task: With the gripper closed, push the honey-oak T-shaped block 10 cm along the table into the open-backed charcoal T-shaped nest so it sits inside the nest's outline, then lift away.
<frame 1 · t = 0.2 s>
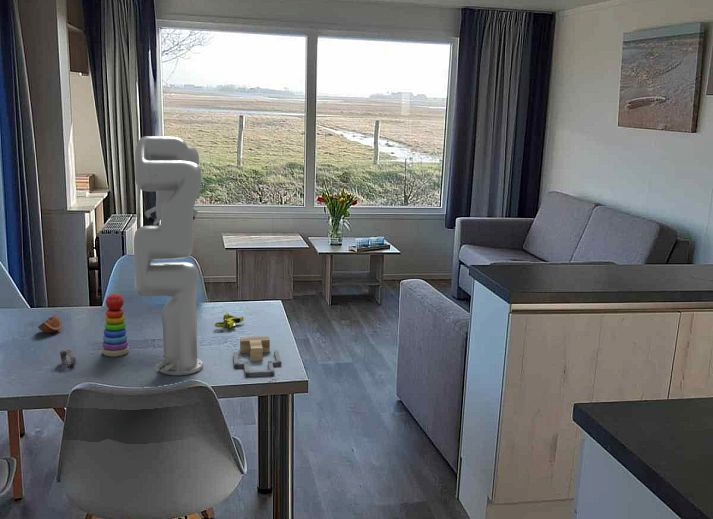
hand: (172, 235, 236), 31 cm above the table, tool pointing down, fingers open, 9 cm apart
stacking toy: (115, 353, 211), on the table
oak t block: (255, 354, 214), on the table
fruit slice: (50, 333, 228), on the table
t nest: (257, 366, 204), on the table
toy motorcycle: (229, 327, 240), on the table
wristwatch: (68, 365, 201), on the table
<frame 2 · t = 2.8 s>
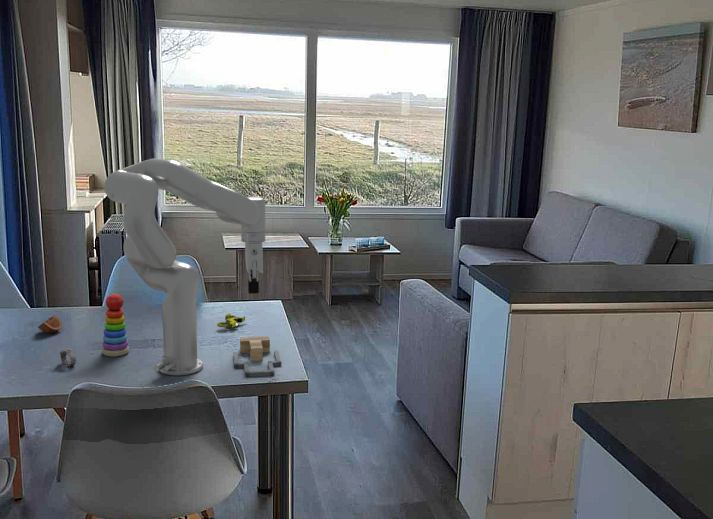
hand: (253, 292, 220), 17 cm above the table, tool pointing down, fingers closed
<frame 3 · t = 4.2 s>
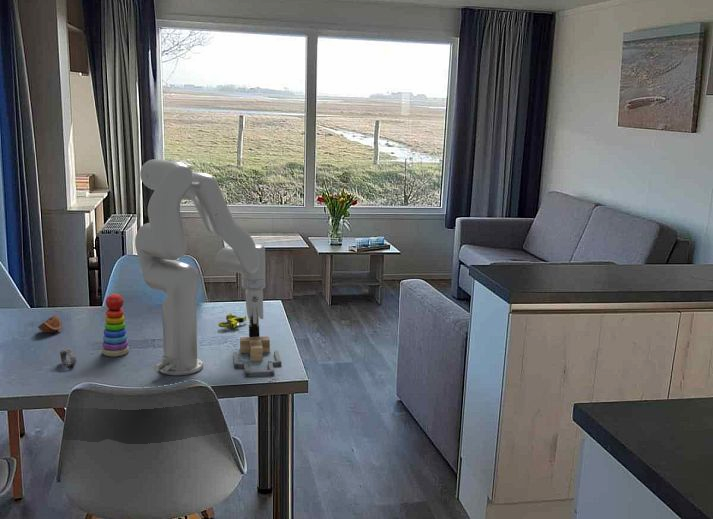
hand: (254, 337, 224), 2 cm above the table, tool pointing down, fingers closed
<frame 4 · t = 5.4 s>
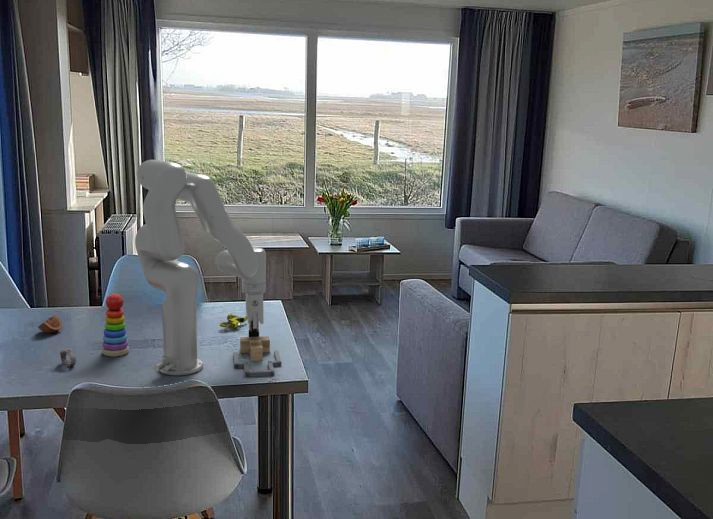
hand: (253, 342, 220), 1 cm above the table, tool pointing down, fingers closed
oak t block: (255, 354, 214), on the table, touching gripper
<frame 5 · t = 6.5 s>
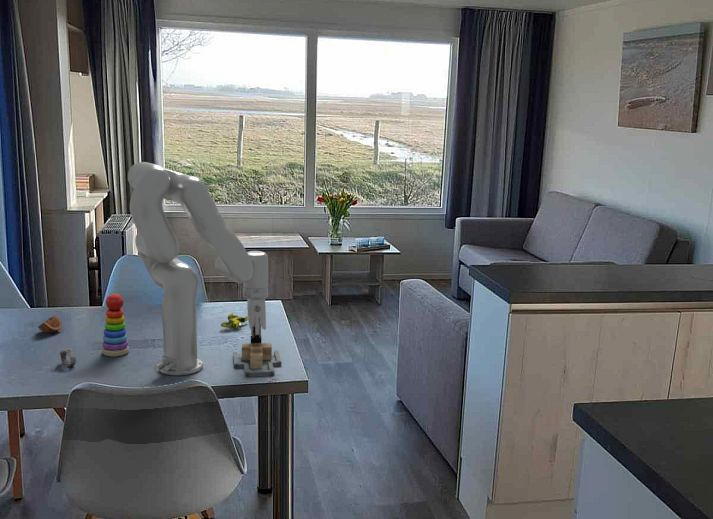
hand: (256, 348, 214), 2 cm above the table, tool pointing down, fingers closed
oak t block: (256, 361, 208), on the table, touching gripper
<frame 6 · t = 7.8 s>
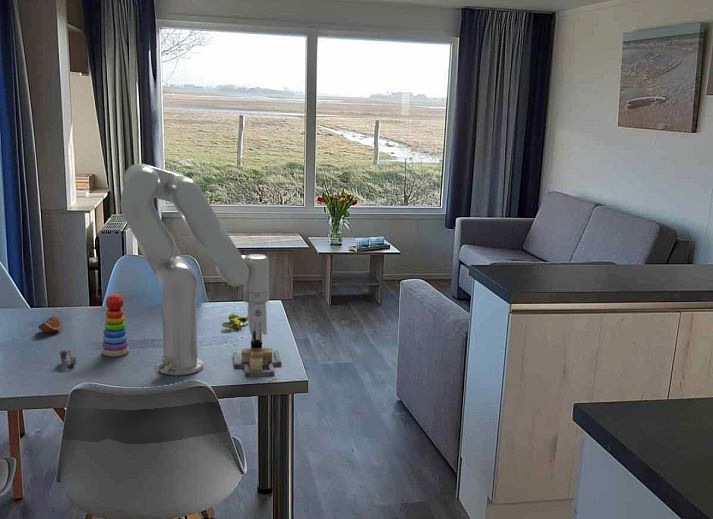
hand: (256, 353, 210), 2 cm above the table, tool pointing down, fingers closed
oak t block: (256, 367, 203), on the table, touching gripper, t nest
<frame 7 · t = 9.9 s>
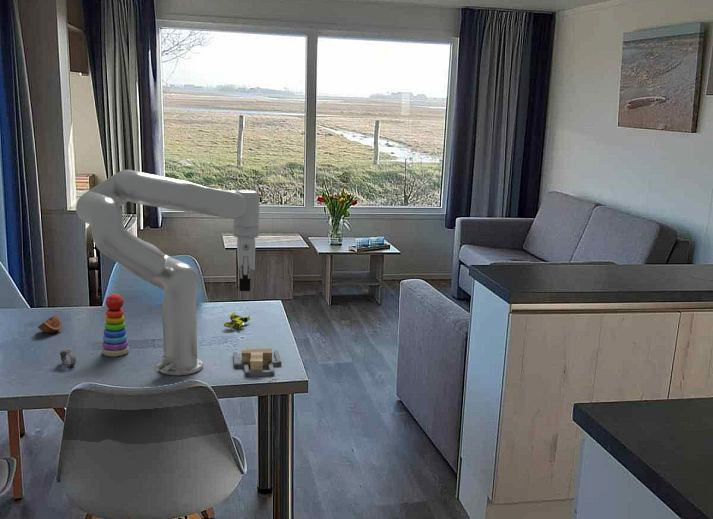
hand: (244, 290, 210), 20 cm above the table, tool pointing down, fingers closed
oak t block: (256, 367, 203), on the table
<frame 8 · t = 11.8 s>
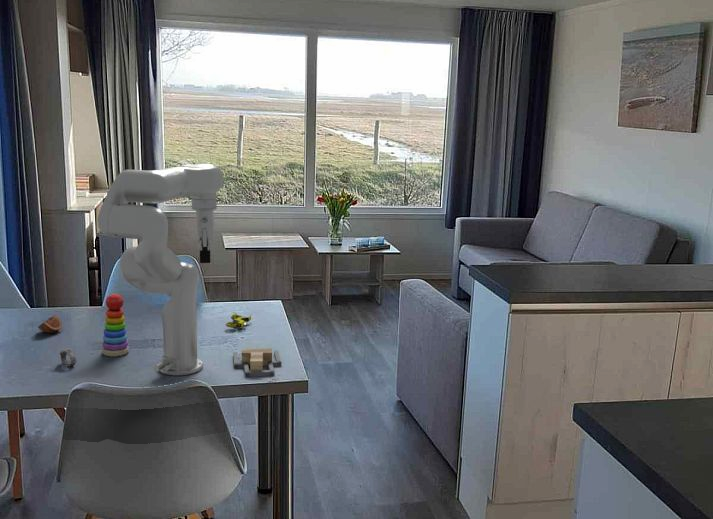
hand: (205, 262, 215), 27 cm above the table, tool pointing down, fingers closed
at the end: oak t block 0.9 cm off-centre on the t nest, point 0.0 cm above the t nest's base; oak t block tilted 0°; oak t block moved 10.8 cm from its start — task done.
